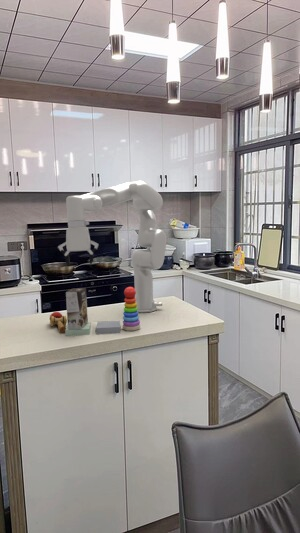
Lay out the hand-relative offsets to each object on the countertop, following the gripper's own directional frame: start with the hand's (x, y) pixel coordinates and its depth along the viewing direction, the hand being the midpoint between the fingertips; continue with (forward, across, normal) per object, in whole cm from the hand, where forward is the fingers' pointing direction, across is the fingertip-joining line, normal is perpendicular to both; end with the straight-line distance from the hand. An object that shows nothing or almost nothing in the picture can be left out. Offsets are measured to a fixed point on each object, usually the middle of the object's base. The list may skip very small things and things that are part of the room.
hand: (79, 264), depth 164 cm
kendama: (+29, +11, -3) cm, 31 cm away
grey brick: (+30, -11, +6) cm, 32 cm away
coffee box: (+27, +2, +6) cm, 27 cm away
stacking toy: (+29, -21, +6) cm, 36 cm away
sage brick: (+29, +2, +5) cm, 30 cm away
